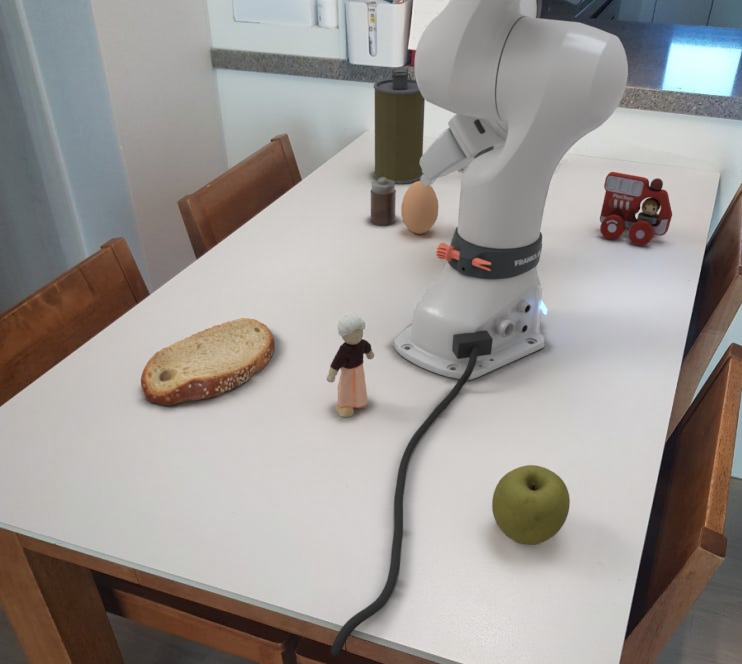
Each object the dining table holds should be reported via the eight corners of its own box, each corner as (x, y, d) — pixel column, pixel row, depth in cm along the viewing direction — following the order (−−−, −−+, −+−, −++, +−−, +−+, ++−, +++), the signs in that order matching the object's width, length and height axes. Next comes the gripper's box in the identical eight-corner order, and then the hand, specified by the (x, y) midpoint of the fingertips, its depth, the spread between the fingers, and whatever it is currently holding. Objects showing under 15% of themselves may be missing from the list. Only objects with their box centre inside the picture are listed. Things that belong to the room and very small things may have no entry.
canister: (423, 184, 155) (428, 76, 142) (373, 184, 155) (373, 76, 142) (421, 166, 163) (425, 62, 150) (374, 166, 163) (373, 62, 150)
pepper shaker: (384, 227, 138) (384, 183, 133) (365, 221, 141) (365, 177, 135) (400, 220, 141) (401, 176, 135) (381, 214, 143) (382, 171, 138)
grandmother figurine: (349, 425, 92) (347, 333, 84) (324, 416, 94) (319, 324, 85) (382, 395, 97) (383, 306, 89) (357, 387, 99) (356, 298, 90)
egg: (394, 236, 135) (395, 184, 129) (409, 223, 140) (410, 172, 134) (428, 242, 133) (431, 190, 127) (442, 229, 138) (445, 178, 132)
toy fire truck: (659, 250, 130) (675, 189, 124) (589, 236, 135) (601, 176, 128) (668, 236, 135) (684, 177, 128) (601, 223, 140) (613, 165, 133)
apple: (480, 548, 76) (487, 496, 72) (498, 499, 82) (506, 448, 77) (554, 568, 74) (566, 515, 70) (568, 516, 80) (580, 464, 75)
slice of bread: (272, 328, 110) (270, 304, 108) (282, 395, 97) (280, 371, 95) (147, 339, 108) (142, 315, 106) (140, 410, 95) (134, 385, 92)
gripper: (524, 92, 120) (469, 144, 132) (446, 118, 109) (393, 172, 120) (543, 127, 121) (487, 176, 133) (468, 156, 110) (414, 207, 121)
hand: (442, 174), depth 126 cm, fingers open, 8 cm apart
